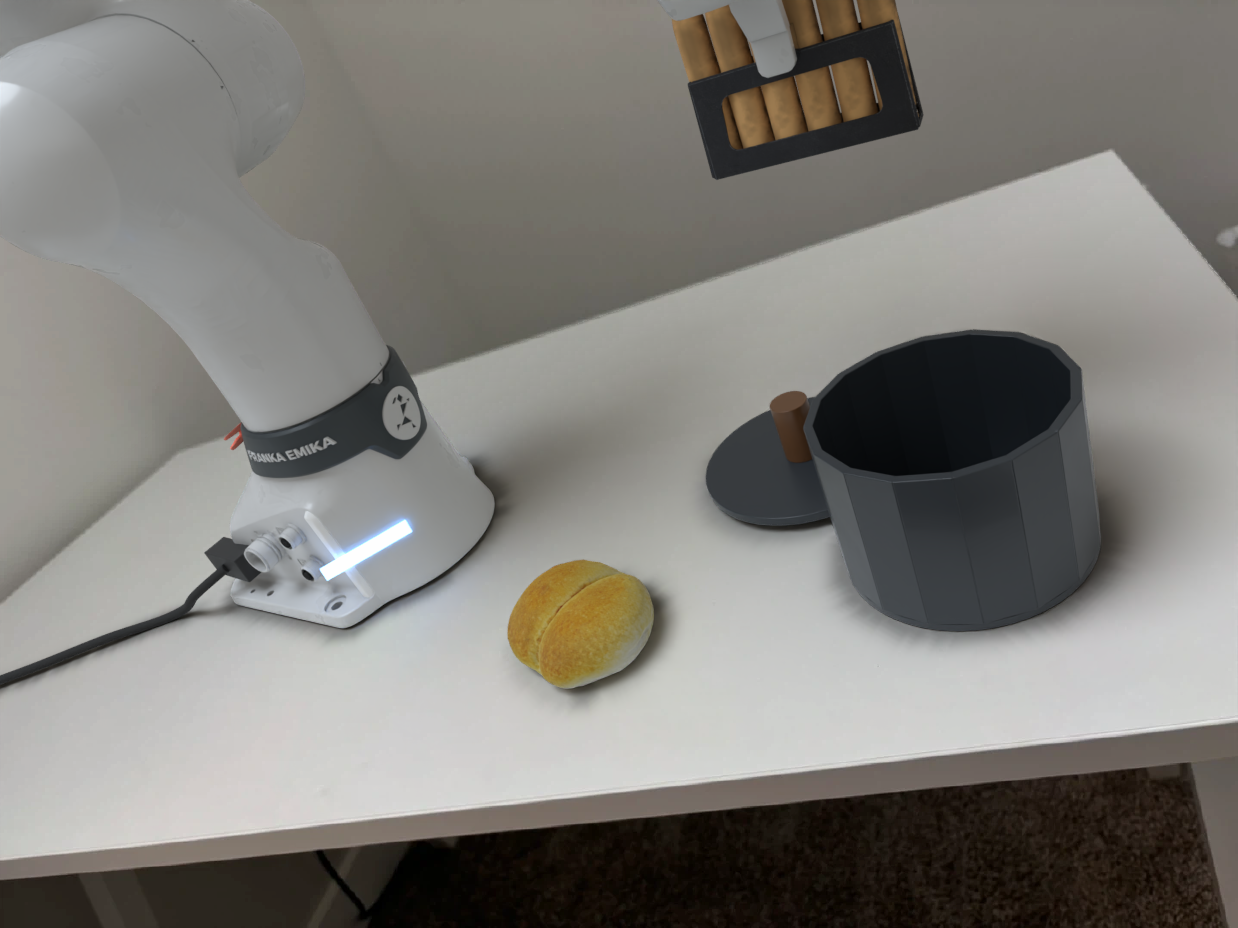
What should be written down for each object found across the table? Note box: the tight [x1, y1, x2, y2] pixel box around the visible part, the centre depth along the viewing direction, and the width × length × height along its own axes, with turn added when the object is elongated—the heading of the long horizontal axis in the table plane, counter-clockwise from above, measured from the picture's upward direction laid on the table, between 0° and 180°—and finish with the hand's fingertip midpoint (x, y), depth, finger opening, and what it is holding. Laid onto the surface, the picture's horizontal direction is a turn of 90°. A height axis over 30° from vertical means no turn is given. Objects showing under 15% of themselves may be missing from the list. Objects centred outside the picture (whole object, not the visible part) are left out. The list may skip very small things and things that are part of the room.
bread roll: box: [506, 559, 655, 690], centre depth 55 cm, size 8×9×4 cm
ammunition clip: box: [671, 0, 924, 181], centre depth 45 cm, size 11×2×12 cm, turn 69°
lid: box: [705, 390, 830, 527], centre depth 61 cm, size 13×13×5 cm
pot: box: [803, 328, 1102, 632], centre depth 49 cm, size 13×13×10 cm
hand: (788, 60), depth 46 cm, fingers closed on ammunition clip, 2 cm apart
